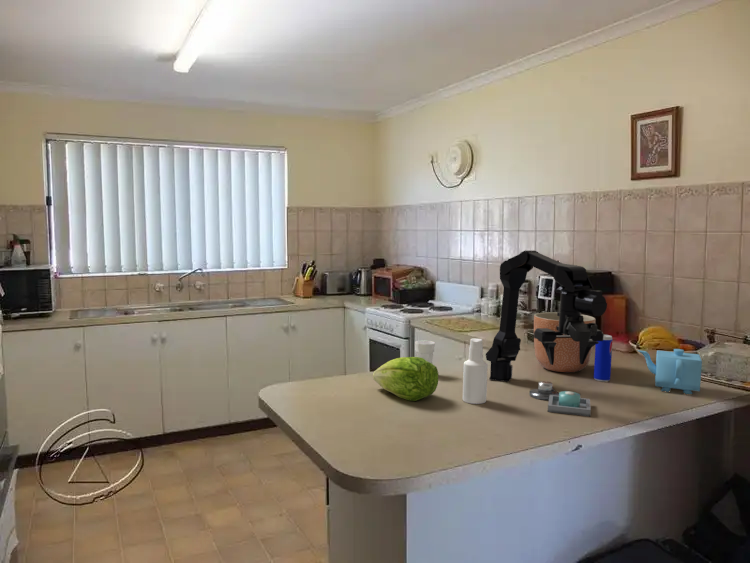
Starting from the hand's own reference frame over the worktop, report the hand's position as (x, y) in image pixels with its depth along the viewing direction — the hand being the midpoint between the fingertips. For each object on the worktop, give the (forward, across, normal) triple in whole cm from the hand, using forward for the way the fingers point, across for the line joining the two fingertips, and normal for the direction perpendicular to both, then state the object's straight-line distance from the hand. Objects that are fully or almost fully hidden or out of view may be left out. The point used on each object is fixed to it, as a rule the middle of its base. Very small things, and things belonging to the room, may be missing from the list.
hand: (566, 364), depth 168 cm
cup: (+13, -32, +36) cm, 50 cm away
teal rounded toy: (+11, -1, -5) cm, 12 cm away
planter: (+12, +20, +38) cm, 45 cm away
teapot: (+12, +41, +11) cm, 44 cm away
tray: (+11, -1, -5) cm, 12 cm away
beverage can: (+12, +26, +22) cm, 36 cm away
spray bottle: (+12, -25, +5) cm, 28 cm away
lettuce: (+12, -44, +14) cm, 48 cm away
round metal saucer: (+12, -2, +7) cm, 14 cm away
